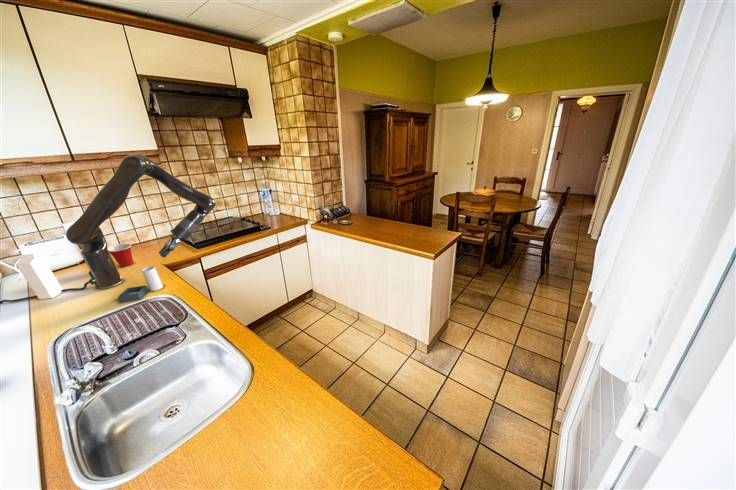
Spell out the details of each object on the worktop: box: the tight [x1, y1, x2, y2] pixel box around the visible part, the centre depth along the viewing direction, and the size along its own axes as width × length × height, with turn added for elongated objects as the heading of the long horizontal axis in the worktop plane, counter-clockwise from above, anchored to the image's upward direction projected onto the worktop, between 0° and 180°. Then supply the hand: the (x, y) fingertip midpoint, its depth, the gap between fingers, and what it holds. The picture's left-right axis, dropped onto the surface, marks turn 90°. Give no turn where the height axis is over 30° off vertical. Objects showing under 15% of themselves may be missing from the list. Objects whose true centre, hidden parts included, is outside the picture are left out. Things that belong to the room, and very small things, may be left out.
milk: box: [16, 253, 63, 300], centre depth 125 cm, size 6×6×22 cm
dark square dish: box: [117, 284, 150, 303], centre depth 124 cm, size 8×8×3 cm
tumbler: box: [141, 265, 164, 292], centre depth 128 cm, size 5×5×11 cm
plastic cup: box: [107, 242, 134, 268], centre depth 155 cm, size 11×11×12 cm
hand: (161, 255), depth 127 cm, fingers open, 8 cm apart
